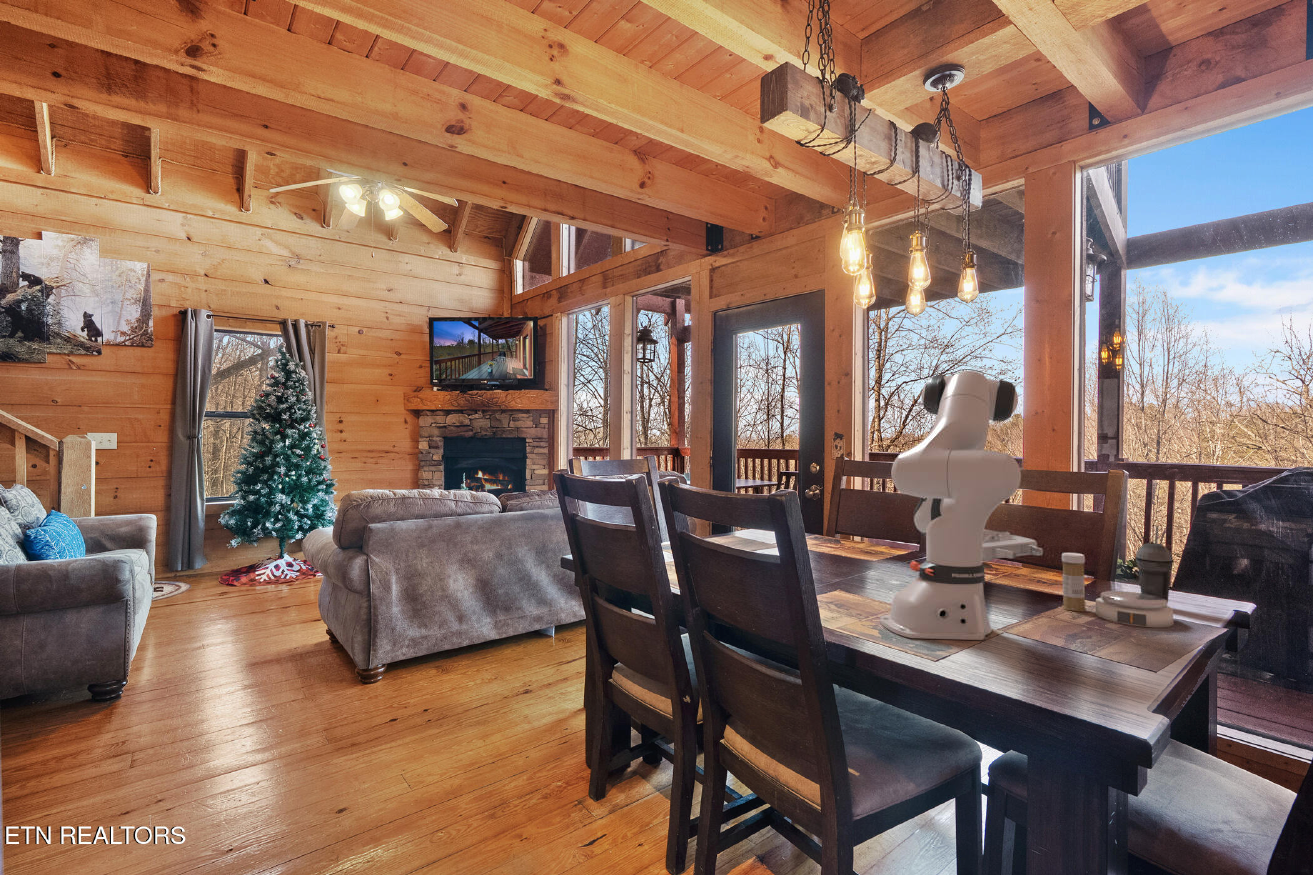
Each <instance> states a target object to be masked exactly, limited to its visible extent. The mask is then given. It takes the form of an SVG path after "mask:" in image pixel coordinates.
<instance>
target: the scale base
mask: <svg viewBox="0 0 1313 875" xmlns="http://www.w3.org/2000/svg"><path fill="white" fill-rule="evenodd" d="M1095 615H1096V616H1097V617H1098V618H1101V619H1104V620H1107V621H1110V622H1113V623H1116V624H1117V623H1118V624H1123V625H1128V626H1134V627H1143V628H1169V627H1172V626H1174V609H1173V607H1171V606H1169V605H1167V607H1166V608H1163V609H1142V608H1132V607H1126V606H1120V605H1115V604H1112V603H1108V602H1105V601H1103V600H1102V599H1101V597H1098V598H1096V599H1095Z"/></svg>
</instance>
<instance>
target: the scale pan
mask: <svg viewBox="0 0 1313 875" xmlns="http://www.w3.org/2000/svg"><path fill="white" fill-rule="evenodd" d="M1100 598H1101V599H1102V600H1103V601H1105V602H1108V603H1112V604H1115V605H1120V606H1126V607H1132V608H1142V609H1163V608H1166V607H1167V606H1168V603H1167V601H1166V600H1165V599H1163V598H1160V597H1156V596H1152V595H1148V594H1142V593H1141V592H1132V591H1124V590H1109V591H1102V592H1101V593H1100Z"/></svg>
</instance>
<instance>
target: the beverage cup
mask: <svg viewBox="0 0 1313 875" xmlns="http://www.w3.org/2000/svg"><path fill="white" fill-rule="evenodd" d="M1158 538H1159V525H1155V533H1154V542H1148V543H1145V544H1143V545H1141V546H1140V547H1139V548H1138V549H1137V551H1136V554H1135V555H1136V556H1135V560H1136V561H1135V562H1136V566H1137V570H1138V576H1139V586H1140V593H1142V594H1148V595H1152V596H1156V597H1160V598H1163V599H1165V600H1166V601H1167V604H1168V603H1169V596H1170V595H1169V594H1170V593H1169V592H1170V585H1171V584H1170V583H1171V575H1172V569H1173V564H1174V562H1175V561H1174V557H1173V555H1172V553H1171V551H1170V550H1169V549H1168V548H1167V547H1166V546H1165V545H1163V544H1161V543H1159V542H1158Z"/></svg>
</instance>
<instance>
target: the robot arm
mask: <svg viewBox="0 0 1313 875" xmlns="http://www.w3.org/2000/svg"><path fill="white" fill-rule="evenodd" d="M921 390H922V391H921V396H920V397H921V403H922V405H923V406H922V407H923V409H924V410H925V411H926V412H927V413H929V414H932V415H935V416H936V419H935V421H934V425H933V427H932V429H931V431H930V432H928V433H929V434H928V435H927V436H926V437H925V438H924V439H923V440H921V442H919V443H918V444H917V445H915V446H913V447H911V448H910V449H908V450H905V451H903V452H901V453H899V454H898V455H897V457H896V458H895V459H894V461H893V463H892V467H891V469H890V470H891V472H890V473H891V479H892V483H893V485H894V486H895V488H896V489H897V491H898V492H900V493H901V494H904V495H909V496H912V497H917V498H919V501H918V503H917V505H916V507H915V509H914V511H913V525H914V527H915V528H916V530H917V531H918V532H919V533H920V534H922V535H924V536H925V538H926V540H925V541H926V542H925V543H926V544H925V545H926V546H925V547H926V548H925V549H926V552H925V553H926V559H925V560H924V562H922V564H921V563H919V562H917V561H913V560H912V561H911V562H910V563H909V569H910V570H911V571H914V572H918V577H917V578H916V579H915V580H912V581H911V583H909V584H908V585H906V587H904V588H903V589H901V590H900V591H898V592H897V593H895V595H894V596H893V598H892V601H891V605H890V606H891V607H890V614H882V615H881V616H880V624H881V625H882V626H883V627H885V628H886V629H887V630H889V631H890V632H893V633H895V634H897V635H899V636H902V637H906V638H910V639H928V640H929V639H930V640H931V639H933V640H935V639H936V640H965V641H966V640H969V641H970V640H972V641H983V640H985V639H986V635H989V634H991V632H992V626H991V624H990V621H989V617H988V613H987V608H986V600H985V595H984V594H985V593H984V587H985V580H986V578H985V576H986V575H985V574H986V573H985V572H986V571H985V565H984V563H983V562H991V561H993V560H994V559H1001V558H1002V559H1003V558H1004V559H1005V558H1006V559H1016V558H1017V557H1021V556H1029V555H1033V556H1043V554H1044V553H1043V552H1044V550H1043V548H1042V547H1038V542H1037V540H1035V539H1032V538H1028V537H1024V536H1020V535H1016V534H1015V535H1014V534H1011V533H1010V532H1009V531H1002V530H1001V531H999V530H997V531H996V530H991V529H985V527H986V525H987V521H988V519H989V518H990V516H991V514H993V512H994V511H995V509H996V508H998V506H1000V505H1001V504H1002V503H1003V502H1005V501H1006V500H1008V499H1009V498H1011V497H1012V496H1013V495H1014V494H1015V493H1016V492H1017V490H1018V489H1019V487H1020V484H1021V481H1022V480H1021V479H1022V474H1021V473H1022V472H1021V468H1020V466H1019V463H1018V462H1017V461H1016V459H1015V458H1014V457H1013V456H1012V455H1011V454H1009V453H1006V452H1000V451H996V450H990V449H985V447H986V444H987V440H988V433H989V432H988V431H989V426H990V424H989V423H990V421H992V422H1004V421H1007V420H1008V419H1010V418H1011V417H1012V415H1013V414H1014V413H1015V411H1016V409H1017V408H1018V407H1017V406H1018V403H1019V395H1018V392H1017V390H1016V386H1015V385H1014V384H1013V382H1010V381H1007V380H1003V379H999V380H996V379H992V378H987V377H986V376H985V375H983V374H982V373H980V372H979V371H978V372H977V371H974V370H963V371H960V372H957V373H955V374H953V375H948V376H947V375H945V374H939V375H938V374H937V375H934V376H931V377H930V378H928V379H927V380H926V383H924V386H923V387H922V389H921Z"/></svg>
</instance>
